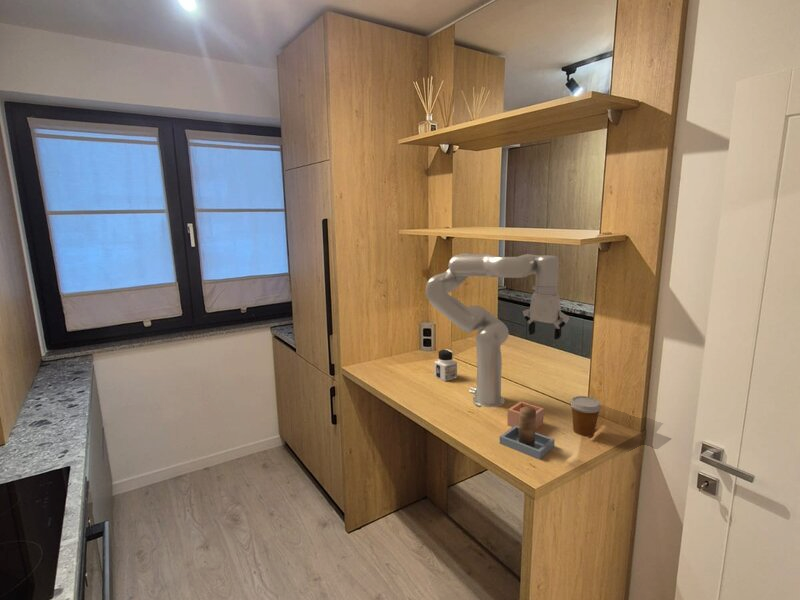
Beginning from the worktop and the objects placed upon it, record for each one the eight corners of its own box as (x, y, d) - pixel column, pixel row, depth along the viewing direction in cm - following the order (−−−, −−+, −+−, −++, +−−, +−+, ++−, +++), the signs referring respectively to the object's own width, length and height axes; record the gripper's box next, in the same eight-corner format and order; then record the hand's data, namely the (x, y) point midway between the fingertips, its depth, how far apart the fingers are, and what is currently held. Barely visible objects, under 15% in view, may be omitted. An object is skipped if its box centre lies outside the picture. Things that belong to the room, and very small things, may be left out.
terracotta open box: (507, 427, 153) (507, 409, 151) (520, 418, 159) (520, 401, 157) (530, 436, 146) (531, 417, 145) (543, 426, 153) (543, 408, 151)
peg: (515, 445, 139) (516, 410, 137) (523, 439, 143) (524, 405, 140) (529, 450, 136) (531, 415, 133) (537, 444, 139) (538, 410, 137)
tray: (499, 446, 141) (499, 436, 140) (515, 434, 148) (515, 425, 147) (539, 462, 131) (539, 452, 130) (554, 449, 138) (554, 439, 137)
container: (445, 381, 196) (445, 354, 193) (434, 376, 202) (433, 350, 199) (457, 377, 200) (457, 351, 198) (446, 373, 206) (446, 347, 204)
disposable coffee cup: (588, 444, 141) (591, 410, 138) (563, 432, 148) (564, 400, 146) (604, 435, 146) (606, 402, 144) (578, 424, 154) (580, 393, 151)
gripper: (519, 289, 157) (517, 334, 160) (565, 294, 145) (562, 343, 149) (529, 286, 162) (527, 330, 166) (574, 291, 150) (572, 338, 154)
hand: (544, 336), depth 157 cm, fingers open, 9 cm apart
